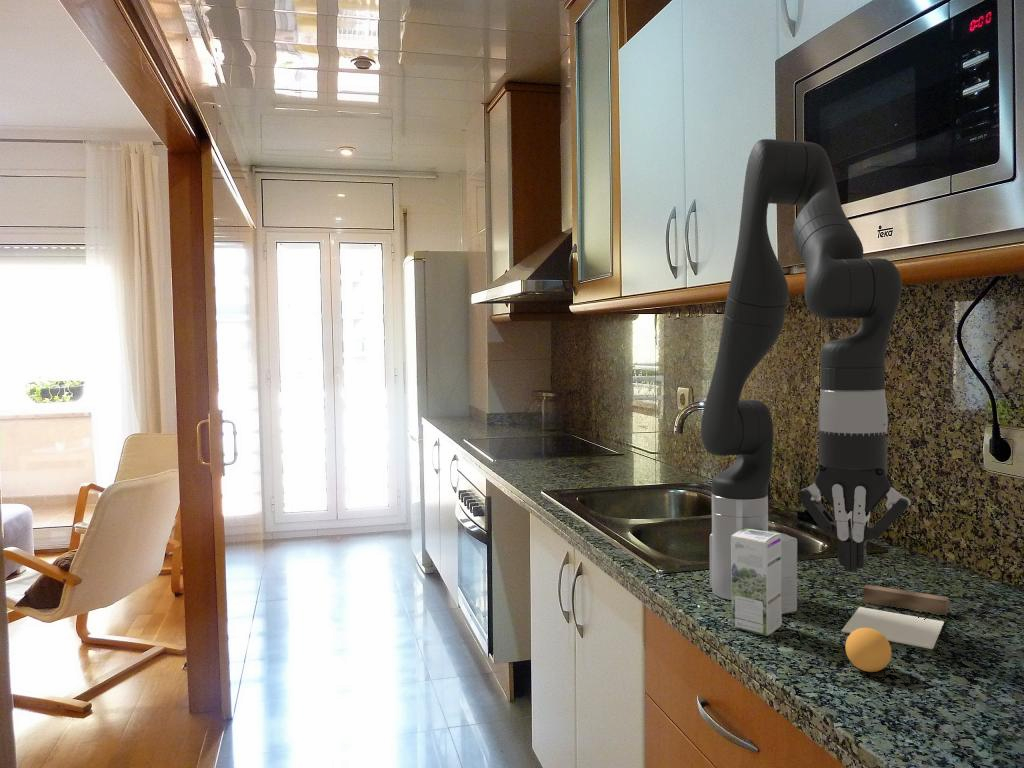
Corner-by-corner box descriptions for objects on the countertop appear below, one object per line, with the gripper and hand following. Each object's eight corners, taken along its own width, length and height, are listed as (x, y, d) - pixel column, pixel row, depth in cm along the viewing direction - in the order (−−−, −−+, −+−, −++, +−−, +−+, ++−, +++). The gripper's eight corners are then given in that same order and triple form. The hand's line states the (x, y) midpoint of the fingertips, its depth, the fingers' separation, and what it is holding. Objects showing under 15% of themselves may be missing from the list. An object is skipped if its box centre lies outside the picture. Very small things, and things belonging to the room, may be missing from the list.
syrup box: (782, 626, 118) (782, 532, 117) (766, 637, 113) (766, 540, 112) (747, 617, 121) (746, 526, 121) (730, 628, 117) (729, 534, 116)
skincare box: (752, 603, 128) (751, 532, 127) (773, 600, 129) (772, 529, 128) (776, 615, 122) (776, 541, 121) (798, 611, 123) (798, 537, 123)
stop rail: (863, 602, 127) (863, 587, 127) (865, 599, 129) (865, 584, 128) (946, 616, 120) (946, 600, 120) (948, 612, 122) (948, 597, 121)
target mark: (841, 631, 115) (841, 630, 115) (859, 608, 124) (859, 606, 124) (932, 649, 108) (932, 647, 108) (944, 622, 117) (944, 621, 117)
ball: (836, 665, 103) (836, 624, 103) (868, 658, 105) (868, 619, 105) (867, 682, 98) (867, 639, 98) (901, 675, 100) (901, 633, 100)
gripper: (786, 428, 93) (787, 570, 94) (908, 433, 85) (908, 587, 86) (803, 422, 99) (804, 555, 100) (919, 426, 91) (919, 571, 92)
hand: (852, 570), depth 93 cm, fingers closed
